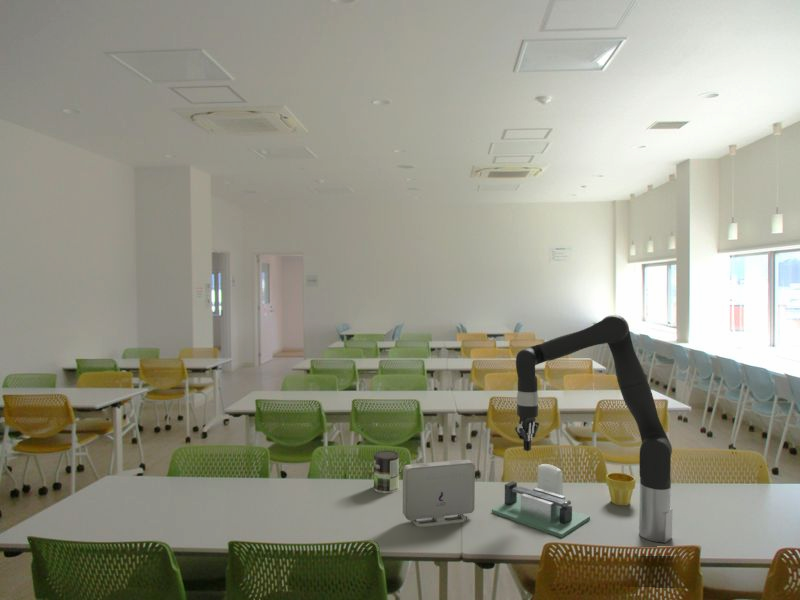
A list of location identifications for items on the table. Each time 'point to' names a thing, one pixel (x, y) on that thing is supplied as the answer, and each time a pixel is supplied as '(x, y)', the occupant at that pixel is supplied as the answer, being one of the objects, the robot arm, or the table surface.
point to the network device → (438, 491)
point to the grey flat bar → (542, 496)
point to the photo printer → (550, 479)
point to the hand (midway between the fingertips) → (527, 450)
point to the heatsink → (539, 505)
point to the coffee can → (386, 471)
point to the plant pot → (620, 487)
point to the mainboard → (552, 528)
